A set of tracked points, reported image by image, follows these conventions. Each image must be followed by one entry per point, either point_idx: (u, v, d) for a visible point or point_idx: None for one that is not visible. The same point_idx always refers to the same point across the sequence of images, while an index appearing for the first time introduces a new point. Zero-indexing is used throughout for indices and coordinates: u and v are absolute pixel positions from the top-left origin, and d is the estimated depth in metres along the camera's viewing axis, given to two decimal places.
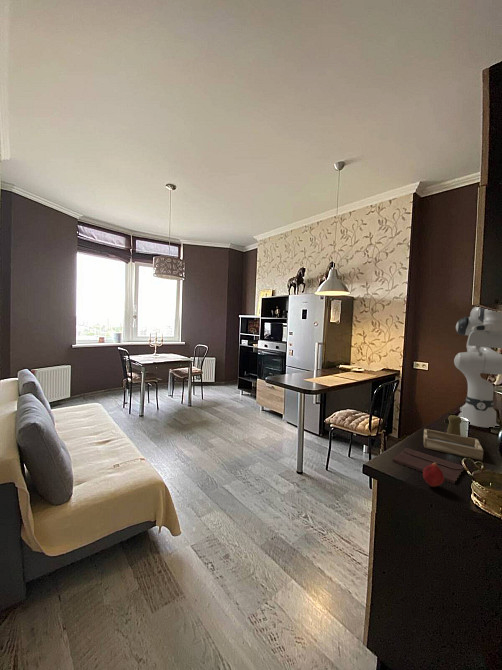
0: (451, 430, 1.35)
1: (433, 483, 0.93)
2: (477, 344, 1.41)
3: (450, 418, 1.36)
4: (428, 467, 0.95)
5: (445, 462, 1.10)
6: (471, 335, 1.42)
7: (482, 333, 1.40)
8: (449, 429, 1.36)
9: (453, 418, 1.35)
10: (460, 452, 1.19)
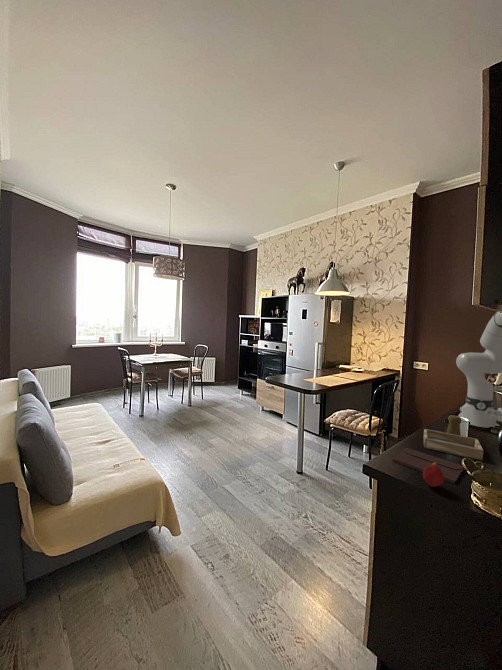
0: (451, 430, 1.35)
1: (433, 483, 0.93)
2: None
3: (450, 418, 1.36)
4: (428, 467, 0.95)
5: (445, 462, 1.10)
6: None
7: None
8: (449, 429, 1.36)
9: (453, 418, 1.35)
10: (460, 452, 1.19)
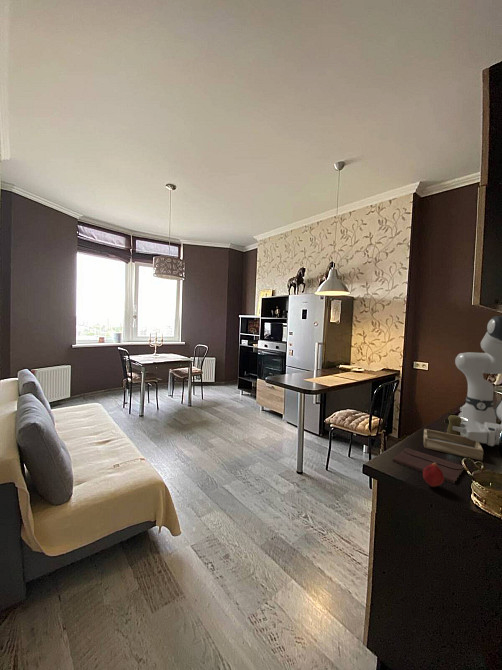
0: (451, 430, 1.35)
1: (433, 483, 0.93)
2: None
3: (450, 418, 1.36)
4: (428, 467, 0.95)
5: (445, 462, 1.10)
6: (480, 442, 1.25)
7: None
8: (449, 429, 1.36)
9: (453, 418, 1.35)
10: (460, 452, 1.19)
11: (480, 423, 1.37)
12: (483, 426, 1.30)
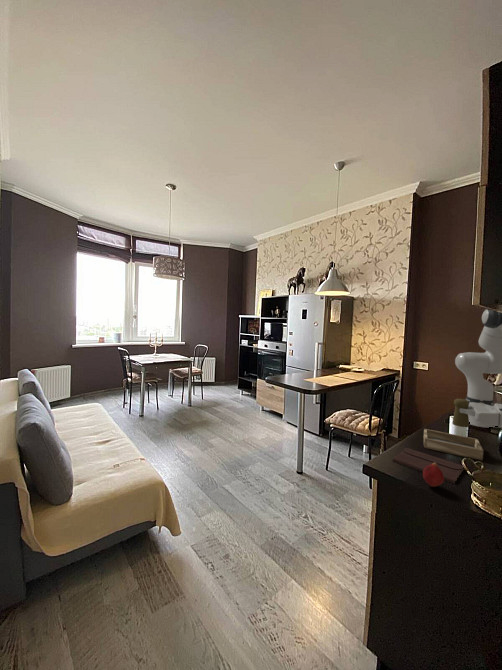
0: (458, 415, 1.24)
1: (433, 483, 0.93)
2: None
3: (456, 402, 1.25)
4: (428, 467, 0.95)
5: (445, 462, 1.10)
6: (490, 424, 1.13)
7: None
8: (456, 414, 1.25)
9: (459, 401, 1.24)
10: (460, 452, 1.19)
11: (489, 405, 1.25)
12: (493, 408, 1.18)
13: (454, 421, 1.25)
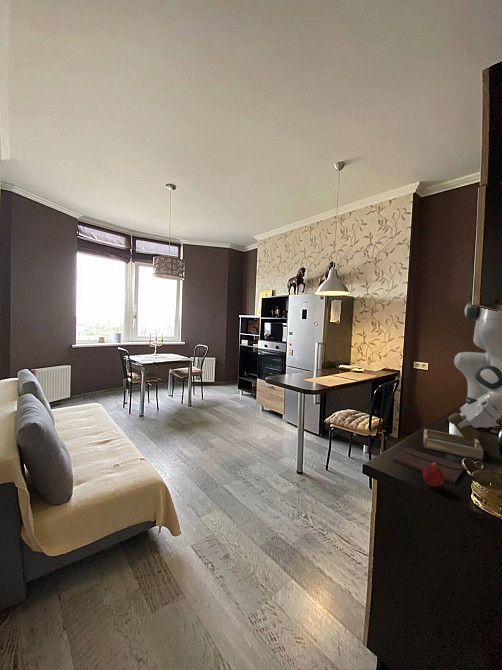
0: (462, 430, 1.23)
1: (433, 483, 0.93)
2: None
3: (450, 421, 1.25)
4: (428, 467, 0.95)
5: (445, 462, 1.10)
6: (487, 422, 1.13)
7: None
8: (460, 431, 1.24)
9: (451, 419, 1.25)
10: (460, 452, 1.19)
11: (477, 402, 1.27)
12: (478, 404, 1.20)
13: (465, 438, 1.23)
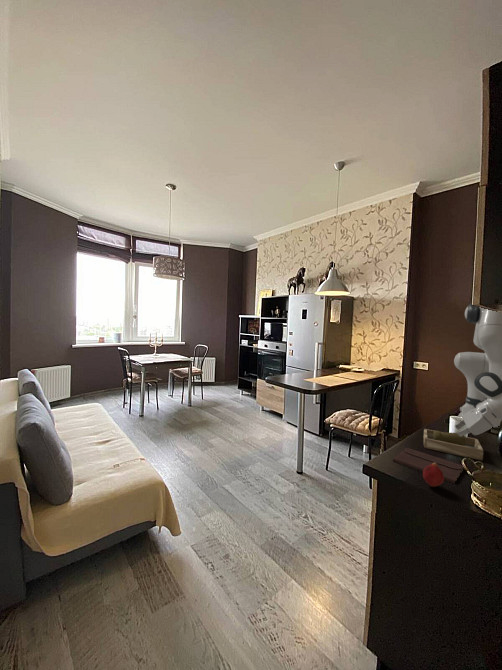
0: (452, 442, 1.25)
1: (433, 483, 0.93)
2: None
3: None
4: (428, 467, 0.95)
5: (445, 462, 1.10)
6: (486, 430, 1.13)
7: None
8: None
9: (436, 439, 1.28)
10: (460, 452, 1.19)
11: (476, 408, 1.27)
12: (477, 411, 1.21)
13: None
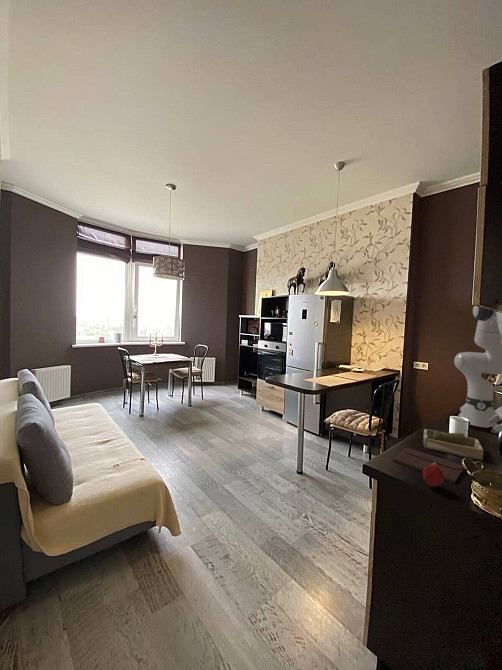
0: (452, 443, 1.25)
1: (433, 483, 0.93)
2: None
3: None
4: (428, 467, 0.95)
5: (445, 462, 1.10)
6: None
7: None
8: None
9: None
10: (460, 452, 1.19)
11: None
12: None
13: None
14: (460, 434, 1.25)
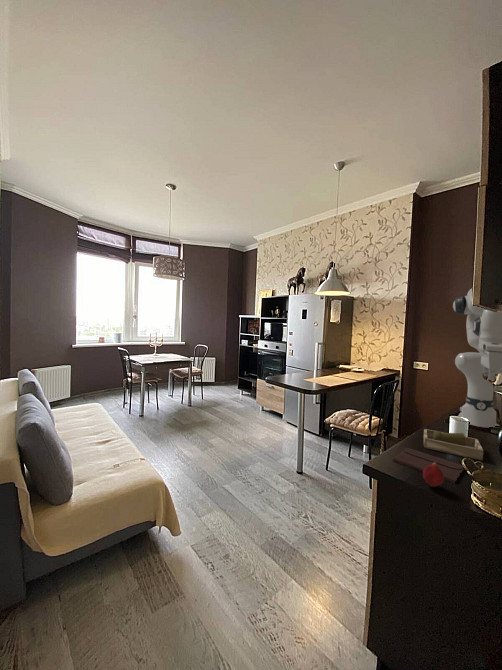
0: (452, 443, 1.25)
1: (433, 483, 0.93)
2: None
3: None
4: (428, 467, 0.95)
5: (445, 462, 1.10)
6: None
7: None
8: None
9: None
10: (460, 452, 1.19)
11: None
12: (483, 351, 1.25)
13: None
14: (460, 434, 1.25)
